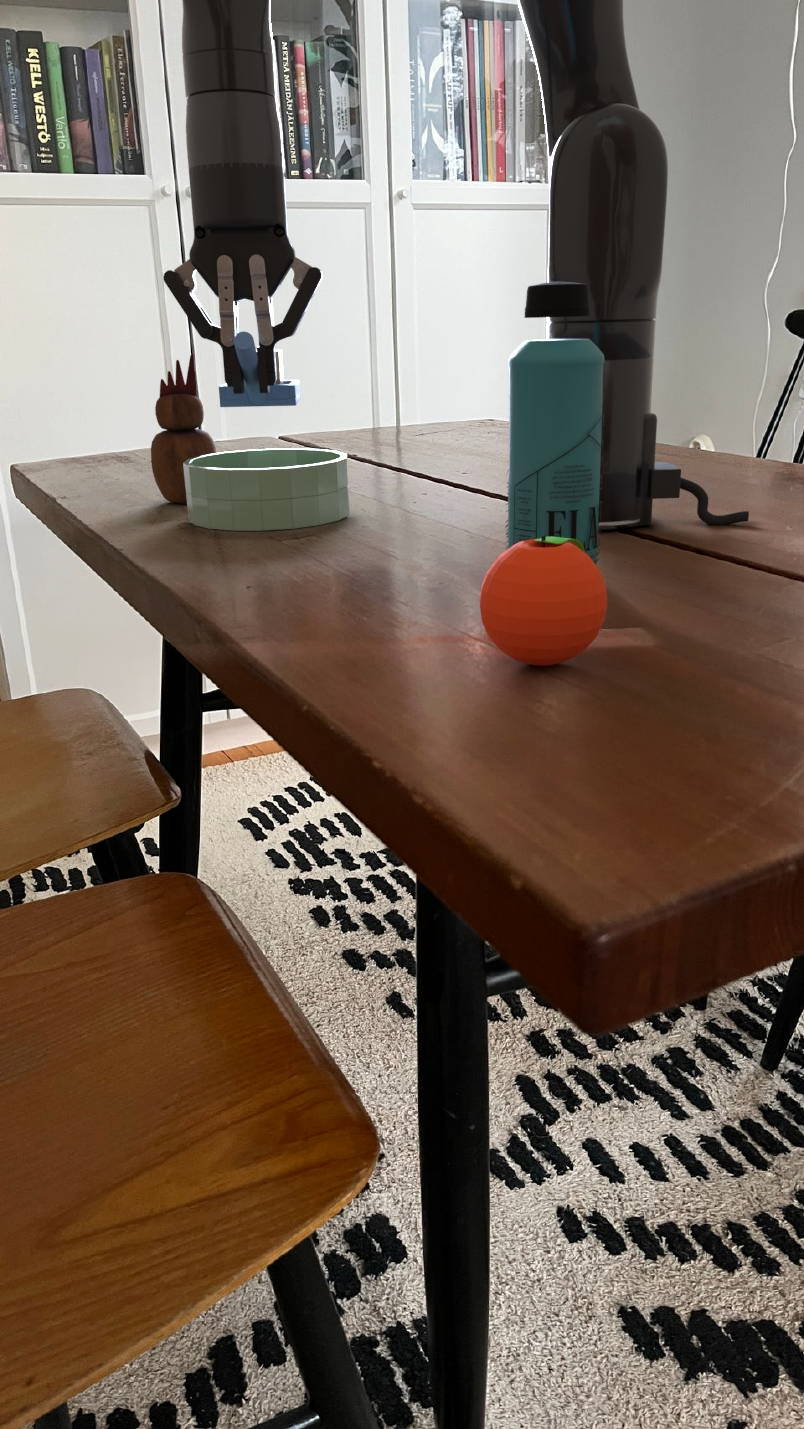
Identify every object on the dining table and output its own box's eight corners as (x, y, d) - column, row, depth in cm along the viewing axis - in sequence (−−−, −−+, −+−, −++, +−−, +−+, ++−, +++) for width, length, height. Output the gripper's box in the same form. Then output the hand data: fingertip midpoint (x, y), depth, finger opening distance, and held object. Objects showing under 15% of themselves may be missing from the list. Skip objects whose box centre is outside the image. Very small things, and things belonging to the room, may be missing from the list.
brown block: (284, 394, 99) (281, 349, 98) (281, 397, 96) (278, 351, 94) (241, 395, 99) (238, 350, 98) (237, 398, 96) (233, 352, 94)
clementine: (533, 633, 64) (535, 516, 61) (636, 653, 60) (643, 528, 57) (454, 667, 58) (452, 539, 56) (562, 691, 54) (566, 554, 52)
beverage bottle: (539, 605, 70) (545, 280, 63) (486, 585, 75) (486, 284, 68) (618, 592, 73) (632, 278, 66) (561, 574, 78) (569, 283, 71)
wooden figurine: (225, 496, 117) (213, 353, 111) (211, 505, 111) (197, 355, 106) (166, 497, 117) (150, 355, 112) (149, 506, 112) (132, 357, 107)
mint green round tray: (350, 505, 109) (347, 446, 107) (348, 534, 95) (345, 466, 92) (202, 510, 109) (196, 451, 106) (178, 540, 94) (171, 472, 92)
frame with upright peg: (229, 401, 101) (223, 329, 98) (300, 399, 101) (296, 328, 99) (206, 416, 86) (199, 332, 84) (289, 414, 86) (285, 331, 84)
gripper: (139, 160, 80) (163, 398, 86) (321, 156, 80) (331, 394, 86) (157, 172, 87) (178, 392, 93) (324, 169, 87) (333, 388, 93)
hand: (252, 392), depth 90 cm, fingers closed on frame with upright peg
